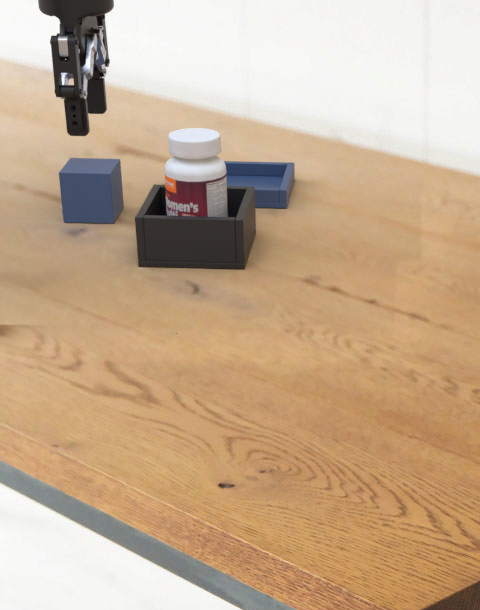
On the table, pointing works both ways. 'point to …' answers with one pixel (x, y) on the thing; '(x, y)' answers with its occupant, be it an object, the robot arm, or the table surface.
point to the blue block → (91, 190)
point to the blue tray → (263, 181)
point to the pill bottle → (195, 174)
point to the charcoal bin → (196, 233)
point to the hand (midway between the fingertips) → (88, 123)
